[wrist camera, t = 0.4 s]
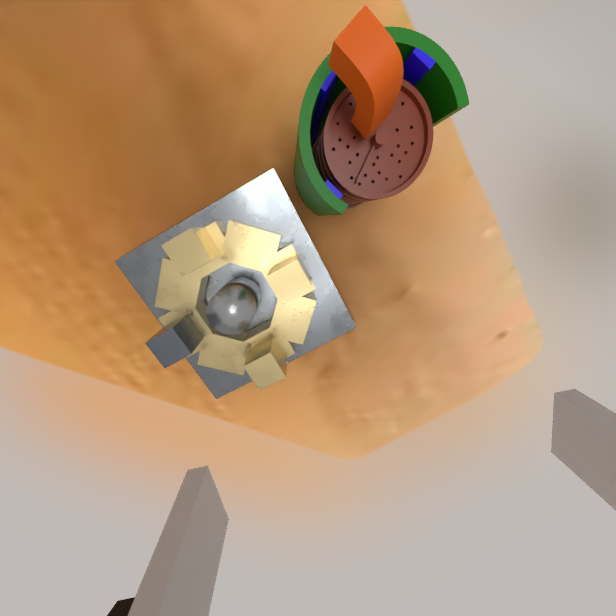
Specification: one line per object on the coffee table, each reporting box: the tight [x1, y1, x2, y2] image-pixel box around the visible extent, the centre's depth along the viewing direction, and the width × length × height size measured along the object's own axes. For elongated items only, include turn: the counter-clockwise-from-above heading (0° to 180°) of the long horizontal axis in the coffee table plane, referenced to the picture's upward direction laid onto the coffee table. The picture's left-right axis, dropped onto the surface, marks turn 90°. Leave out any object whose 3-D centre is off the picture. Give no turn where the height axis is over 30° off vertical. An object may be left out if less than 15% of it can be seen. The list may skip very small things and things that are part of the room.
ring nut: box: [146, 220, 317, 390], centre depth 30 cm, size 16×16×7 cm
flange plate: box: [115, 168, 356, 399], centre depth 32 cm, size 20×20×8 cm
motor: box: [294, 5, 469, 215], centre depth 23 cm, size 10×9×20 cm
